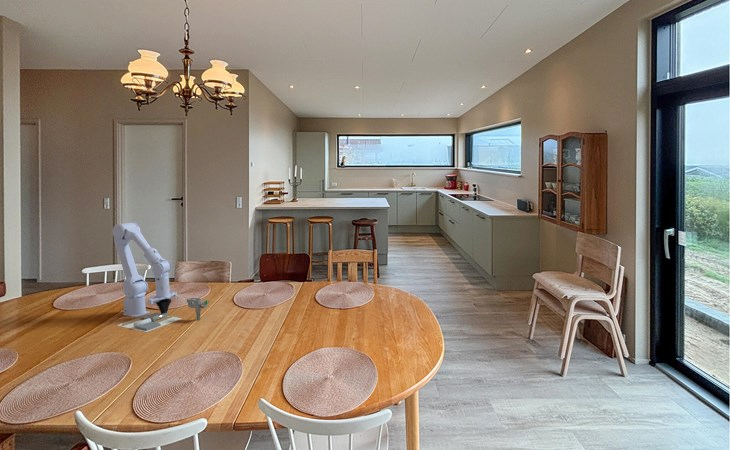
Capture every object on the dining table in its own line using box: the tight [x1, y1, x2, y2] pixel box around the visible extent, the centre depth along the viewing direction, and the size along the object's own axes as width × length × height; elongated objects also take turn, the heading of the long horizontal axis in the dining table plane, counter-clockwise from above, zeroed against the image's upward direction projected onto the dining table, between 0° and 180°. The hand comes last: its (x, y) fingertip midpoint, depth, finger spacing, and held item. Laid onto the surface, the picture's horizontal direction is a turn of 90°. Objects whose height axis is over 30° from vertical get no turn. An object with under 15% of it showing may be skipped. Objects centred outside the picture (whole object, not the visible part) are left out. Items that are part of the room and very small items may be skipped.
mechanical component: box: [186, 297, 210, 321], centre depth 199 cm, size 3×10×10 cm, turn 78°
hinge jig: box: [116, 312, 183, 333], centre depth 196 cm, size 19×19×3 cm
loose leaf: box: [143, 312, 169, 322], centre depth 200 cm, size 8×7×2 cm
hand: (164, 314), depth 204 cm, fingers closed
